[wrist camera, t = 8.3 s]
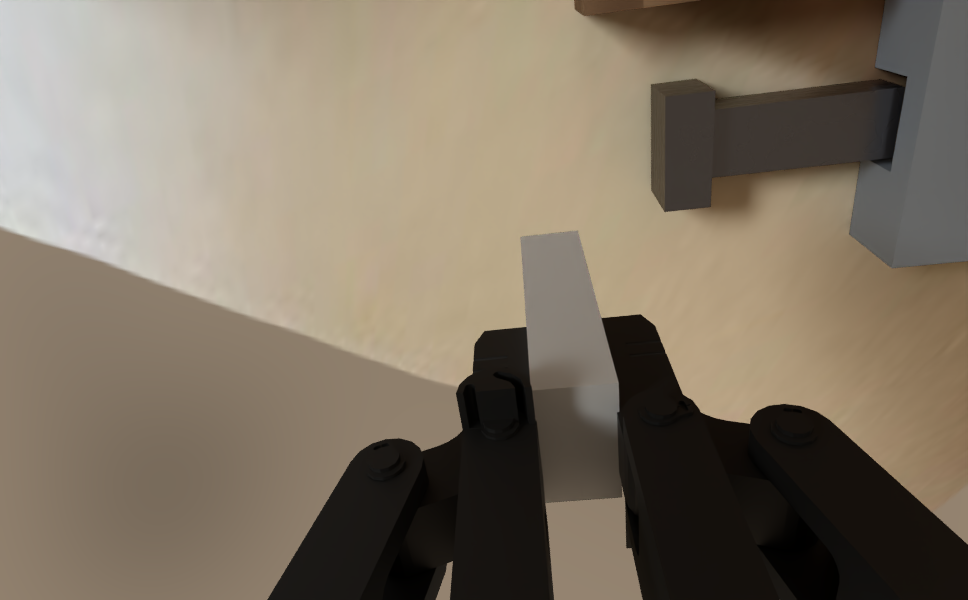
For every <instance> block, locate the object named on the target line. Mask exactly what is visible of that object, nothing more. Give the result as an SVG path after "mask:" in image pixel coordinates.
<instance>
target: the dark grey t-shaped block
mask: <svg viewBox="0 0 968 600" xmlns="http://www.w3.org/2000/svg"><path fill="white" fill-rule="evenodd" d="M904 89H905V87H903V86H900V85H897V84H894V83H891V82H888V81H884V80H881V79H877V80H869V81H861V82H852V83H844V84H836V85H828V86H819V87H811V88H803V89H795V90H787V91H778V92H770V93H762V94H754V95H745V96H737V97H729V98H721V99H715V90H714V89H712V88H710V87H709V86H707V85H706V84H704V83H702V82H701V81H699V80H698V79H690V80H682V81H674V82H666V83H658V84H651V191H652V192H653V194H654V195H655V197H656V199H657V200H658V202H659V204H660V205H661V207H662V208H663V210H664V212H668V211H678V210H687V209H696V208H706V207H711V186H712V178H713V177H722V176H732V175H741V174H750V173H759V172H768V171H777V170H786V169H795V168H804V167H813V166H822V165H831V164H840V163H850V162H859V161H868V160H877V159H886V158H892V157H893V151H894V146H895V140H896V134H897V129H898V123H899V118H900V112H901V106H902V101H903V95H904Z"/></svg>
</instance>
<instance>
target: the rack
mask: <svg viewBox="0 0 968 600" xmlns="http://www.w3.org/2000/svg"><path fill="white" fill-rule="evenodd" d="M691 1H699V0H574V3H575V10H577V11H578V12H579V13H581V14H582V15H584V16H588V15H596V14H603V13H610V12H618V11H625V10H632V9H640V8H647V7H655V6H662V5H669V4H677V3H684V2H691Z"/></svg>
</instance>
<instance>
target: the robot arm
mask: <svg viewBox="0 0 968 600" xmlns="http://www.w3.org/2000/svg"><path fill="white" fill-rule="evenodd" d="M521 250H522V266H523V281H524V296H525V311H526V326H527V327H522V328H512V329H501V330H491V331H484V332H483V334H482V335H481V337H480V338H479V339H478V341H477V342H476V343H475V346H474V362H473V374H472V375H470V376H468V377H467V378H466V379H465V380H464V381H463V382H462V383H461V384H460V385H459V387H458V390H457V392H456V396H457V401H458V407H459V412H460V417H461V423H462V428H463V431H462V432H461V433H460V434H459V435H458V436H457V437H455V438H453V439H452V440H450V441H449V442H447V443H444V444H442V445H440V446H437V447H434V448H431V449H428V450H425V451H422V452H421V450H420V448H419V447H418V446H417V445H415V444H414V443H413V442H411V441H407V440H403V439H385V440H382V441H379V442H376V443H373V444H371V445H369V446H368V447H366V448H364V449H363V450H361V451H360V452H359V453H358V454H357V455H356V456H355V458H354V459H353V460H352V461H351V462H350V464H349V466H348V467H347V469H346V471H345V472H344V474H343V476H342V477H341V479H340V481H339V482H338V484H337V486H336V487H335V489H334V490H333V492H332V494H331V495H330V497H329V499H328V500H327V502H326V504H325V505H324V507H323V509H322V511H321V512H320V514H319V515H318V517H317V519H316V520H315V522H314V524H313V525H312V527H311V529H310V530H309V532H308V533H307V535H306V537H305V538H304V540H303V542H302V543H301V545H300V547H299V548H298V551H297V552H296V553H295V555H294V557H293V558H292V560H291V562H290V563H289V565H288V567H287V568H286V570H285V572H284V573H283V575H282V576H281V578H280V580H279V581H278V583H277V585H276V586H275V588H274V590H273V591H272V593H271V595H270V596H269V598H268V600H436V597H437V594H438V591H439V589H440V586H441V583H442V580H443V577H444V575H445V572H446V566H447V563H449V562H451V561H453V567H452V581H451V594H450V600H554V595H553V583H552V572H551V559H550V547H549V536H548V524H547V515H546V506H545V503H549V502H562V501H563V502H564V501H577V500H591V499H604V498H618V497H622V487H623V492H624V496H625V506H626V507H625V509H626V546H627V548H632V551H633V556H634V561H635V566H636V570H637V575H638V580H639V584H640V589H641V594H642V598H643V600H968V544H966V543H965V542H964V541H963V540H962V539H961V538H960V537H959V536H958V535H956V534H955V533H954V532H953V531H952V530H951V529H950V528H949V527H948V526H946V525H945V524H944V523H943V522H942V521H941V520H940V519H939V518H937V516H935V515H934V514H933V513H932V512H931V511H930V510H929V509H928V508H927V507H925V506H924V505H923V504H922V503H921V502H920V501H919V500H918V499H917V498H915V497H914V496H913V495H912V494H911V493H910V492H909V491H908V490H907V489H905V488H904V487H903V486H902V485H901V484H900V483H899V482H898V481H897V480H896V479H894V478H893V477H892V476H891V475H890V474H889V473H888V472H887V471H886V470H884V469H883V468H882V467H881V466H880V465H879V464H878V463H877V462H876V461H874V460H873V459H872V458H871V457H870V456H869V455H868V454H867V453H866V452H864V451H863V450H862V449H861V448H860V447H859V446H858V445H857V444H856V443H855V442H853V441H852V440H851V439H850V438H849V437H848V436H847V435H846V434H845V433H843V432H842V431H841V430H840V429H839V428H838V427H837V426H836V425H835V424H833V423H832V422H831V421H830V420H829V419H827V418H826V417H824V416H823V415H821V414H820V413H818V412H816V411H813V410H810V409H808V408H805V407H802V406H796V405H788V404H781V405H772V406H767V407H765V408H763V409H761V410H758V411H757V412H756V413H755V415H754V416H753V417H752V418H751V421H750V424H747V423H739V422H732V421H726V420H721V419H716V418H713V417H710V416H708V415H705V414H703V413H701V412H700V410H699V408H698V407H697V406H696V404H695V403H694V402H693V401H692V400H691V399H689V398H687V397H686V396H684V395H683V394H682V391H681V389H680V387H679V384H678V382H677V379H676V377H675V374H674V372H673V369H672V367H671V364H670V362H669V359H668V357H667V354H665V349H664V347H663V344H662V342H661V340H660V337H659V335H658V332H657V330H656V327H655V325H653V324H652V323H651V322H650V321H648V320H647V319H646V318H644V317H643V316H642V315H641V314H640V315H630V316H619V317H609V318H601V315H600V312H599V308H598V304H597V301H596V297H595V293H594V289H593V286H592V282H591V278H590V274H589V271H588V267H587V263H586V260H585V256H584V252H583V248H582V245H581V241H580V237H579V234H578V231H569V232H560V233H551V234H542V235H533V236H523V237H521Z"/></svg>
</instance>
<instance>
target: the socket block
mask: <svg viewBox="0 0 968 600" xmlns="http://www.w3.org/2000/svg"><path fill="white" fill-rule="evenodd" d="M875 67H876V68H879V69H883V70H886V71H890V72H893V73H897V74H900V75H904V76H907V83H906V88H905V94H904V99H903V105H902V111H901V116H900V122H899V127H898V133H897V139H896V144H895V150H894V152H893V157H892V158H886V159H877V160H868V161H860V167H859V174H858V180H857V187H856V193H855V200H854V206H853V213H852V219H851V226H850V232H849V234H850V235H851V236H852V237H853V238H855V239H856V240H857V241H858V242H860V243H861V244H862V245H863V246H865V247H866V248H867V249H868V250H870V251H871V252H872V253H873V254H875V255H876V256H877V257H878V258H880V259H881V260H882V261H883V262H885V263H886V264H887V265H888V266H889V267H891V268H900V267H910V266H921V265H932V264H942V263H953V262H963V261H968V0H885V5H884V12H883V18H882V25H881V31H880V38H879V44H878V51H877V57H876V64H875Z"/></svg>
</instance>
